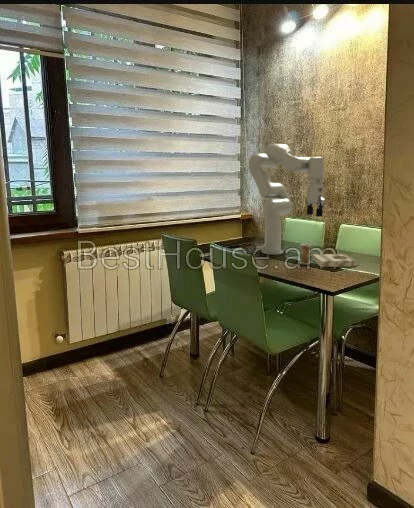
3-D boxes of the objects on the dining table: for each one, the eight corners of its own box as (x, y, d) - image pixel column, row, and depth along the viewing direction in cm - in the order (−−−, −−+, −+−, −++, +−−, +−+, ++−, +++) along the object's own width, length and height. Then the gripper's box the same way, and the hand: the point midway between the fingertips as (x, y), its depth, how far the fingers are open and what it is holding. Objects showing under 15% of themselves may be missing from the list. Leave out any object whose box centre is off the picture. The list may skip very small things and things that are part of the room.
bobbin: (301, 264, 211) (301, 245, 209) (298, 262, 216) (299, 243, 214) (311, 264, 211) (312, 245, 209) (308, 262, 217) (309, 243, 214)
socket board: (320, 266, 206) (321, 261, 206) (312, 259, 222) (312, 254, 221) (356, 266, 206) (356, 260, 206) (345, 259, 222) (345, 254, 222)
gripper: (331, 181, 201) (329, 216, 204) (313, 181, 217) (312, 213, 220) (317, 182, 199) (316, 217, 202) (300, 181, 215) (300, 214, 219)
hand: (314, 215), depth 211 cm, fingers open, 9 cm apart
